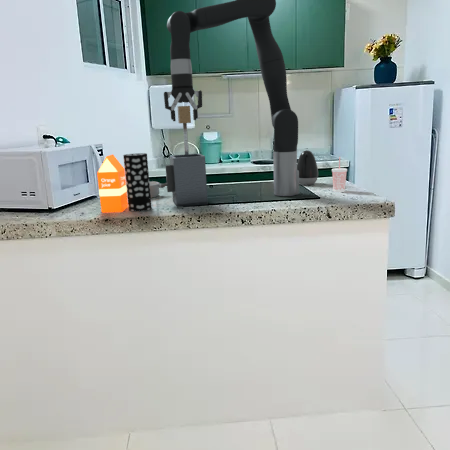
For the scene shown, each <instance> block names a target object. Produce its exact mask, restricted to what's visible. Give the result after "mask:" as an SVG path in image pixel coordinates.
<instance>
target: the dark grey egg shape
mask: <svg viewBox="0 0 450 450" xmlns="http://www.w3.org/2000/svg"><path fill="white" fill-rule="evenodd" d="M297 170H298V171H299V185H301V186H312V185H314V184H316V182H317V181H318V178H319V169H318V164H317V160H316V158H315V155H314V153H313V152H312V151H310V150H304V151H302V152H301V153H300V155H299V157H298V158H297Z"/></svg>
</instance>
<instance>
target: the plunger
mask: <svg viewBox="0 0 450 450" xmlns="http://www.w3.org/2000/svg"><path fill="white" fill-rule="evenodd" d="M176 108H177V117H178V118H177V119H178V124H182V129H183V131H182V132H183V144H184V147H183V148H184V155H185V157H189V154H190V153H189V140H188V139H189V138H188V124H190V123H191V124H192V117H191V105H176Z"/></svg>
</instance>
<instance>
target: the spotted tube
mask: <svg viewBox="0 0 450 450" xmlns="http://www.w3.org/2000/svg"><path fill="white" fill-rule="evenodd" d="M122 156H123V165H124V166H123V168H124V170H125V180H126V189H127V200H128V207H127V208H128V211H130V212H145V211H149V210H151V209H152V200H151V199H152V198H151V195H150V183H149V182H150V174H149V162H148V161H149V160H148V153H145V152H142V153H141V152H140V153H135V152H134V153H127V154H123V155H122Z"/></svg>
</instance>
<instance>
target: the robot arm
mask: <svg viewBox="0 0 450 450" xmlns="http://www.w3.org/2000/svg"><path fill="white" fill-rule="evenodd" d="M276 6H277V2H276V0H232V1H231V0H230V1H227V2H222V3H217V4H213V5H212V4H211V5H207V6H202V7H199V8H196V9H193V10H191V11H189V12H184V11H182V10H177V11H174V12H173V13H172V14H171V15H170V16H169V17H168V19H167V22H166V28H167V31H168V32H169V33H170V36H171V37H170V38H171V42H170V46H169V51H170V53H169V54H170V78H171V91H164V92H163V101H164V109H165V110H168V111H170V119H171V120H172V121H173V122H177V120H176V110H175V109H176V108H177V106H178V103H179V104H180V103H181V104H182V103H186V104H187V103H188V104H189V106H190V107H192V109H193V110H192V116H193V118H192V119H193V121H197V119H198V117H199V114H198V109H200V108H202V107H203V91H202V90H195V89H194V85H193V83H194V82H193V67H192V61H191V48H190V44H191V43H190V42H191V41H190V40H191V33H193V32H197V31H203V30H207V29H211V28H216V27H220V26H223V25H225V24H229V23H232V22H234V21H238V20H242V19H244V18H247V19H248V20H247V21H248V22H249V26H250V29H251V32H252V35H253V40H254V43H255V49H256V55H257V58H258V65H259V68H260V73H261V77H262V81H263V85H264V88H265V91H266V94H267V97H268V101H269V109H270V116H271V117H270V118H271V125H272V127H273V136H274V137H273V144H272V145H273V146H272V151H273V158H272V159H273V160H272V161H273V195H274V196H277V197H291V196H295V195H296V196H297V195H299V194H300V184H299V171H298V170H297V162H298V144H299V119H298V118H299V117H298V115H297V114H296V112H295V111H294V110H292V108H291V105H290V102H289V98H288V90H287V86H288V85H287V84H288V83H287V79H288V78H287V71H286V69H287V68H286V64H285V60H284V55H283V53H282V50H281V47H280V46H279V44H278V42H277V41H276V39H275V37H274V36H273V32H272V28H271V23H270V17H271V15H272V14H273V13H274V12H275V9H276ZM194 95H195V97H197V104H196V103H195V101H194V99H193V97H194ZM171 96H172V97H173V99H174V100H173V102H172V103H171V105H170V103H169V98H170V97H171Z"/></svg>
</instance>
